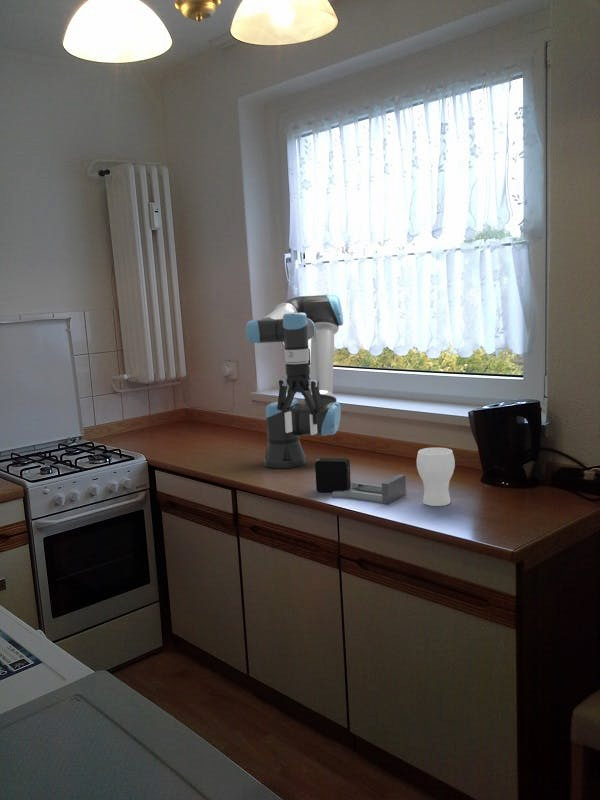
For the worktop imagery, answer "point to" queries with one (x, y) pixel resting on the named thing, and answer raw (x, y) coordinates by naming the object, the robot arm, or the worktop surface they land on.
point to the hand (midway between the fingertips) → (301, 433)
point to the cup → (436, 474)
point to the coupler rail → (376, 490)
